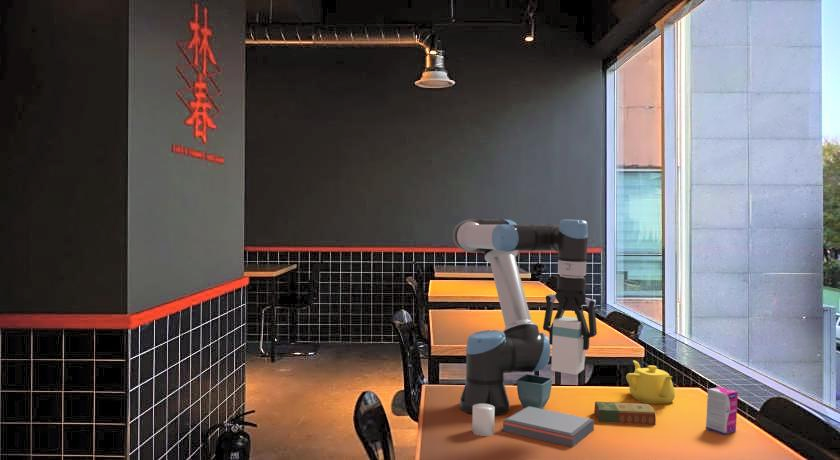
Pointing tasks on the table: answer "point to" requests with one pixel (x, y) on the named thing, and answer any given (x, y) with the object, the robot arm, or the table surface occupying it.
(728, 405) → the supplement box
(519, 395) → the flower pot
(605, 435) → the table surface
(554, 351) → the carton
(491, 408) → the white rounded capsule
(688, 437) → the table surface
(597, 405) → the carton
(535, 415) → the podium
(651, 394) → the teapot
